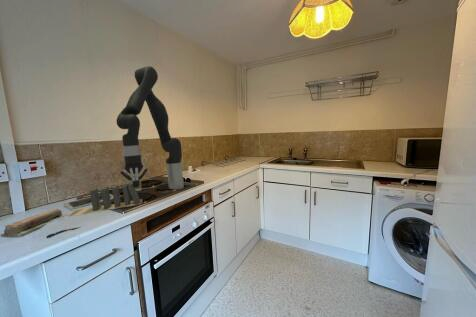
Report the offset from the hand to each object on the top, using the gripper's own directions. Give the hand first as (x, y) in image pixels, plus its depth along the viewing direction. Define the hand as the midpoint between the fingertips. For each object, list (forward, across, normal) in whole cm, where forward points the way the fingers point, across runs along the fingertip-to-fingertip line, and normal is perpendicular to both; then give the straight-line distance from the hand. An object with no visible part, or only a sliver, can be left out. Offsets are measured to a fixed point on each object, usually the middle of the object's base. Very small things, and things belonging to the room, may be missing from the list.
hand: (136, 187), depth 100 cm
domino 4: (+8, +5, 0) cm, 10 cm away
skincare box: (+9, +4, -30) cm, 32 cm away
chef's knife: (+10, +21, +16) cm, 28 cm away
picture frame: (+10, +26, -18) cm, 33 cm away
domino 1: (+8, +18, 0) cm, 20 cm away
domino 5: (+8, 0, 0) cm, 8 cm away
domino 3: (+8, +9, 0) cm, 12 cm away
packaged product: (+10, +38, +6) cm, 40 cm away
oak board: (+9, +13, 0) cm, 16 cm away
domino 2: (+8, +14, 0) cm, 16 cm away
